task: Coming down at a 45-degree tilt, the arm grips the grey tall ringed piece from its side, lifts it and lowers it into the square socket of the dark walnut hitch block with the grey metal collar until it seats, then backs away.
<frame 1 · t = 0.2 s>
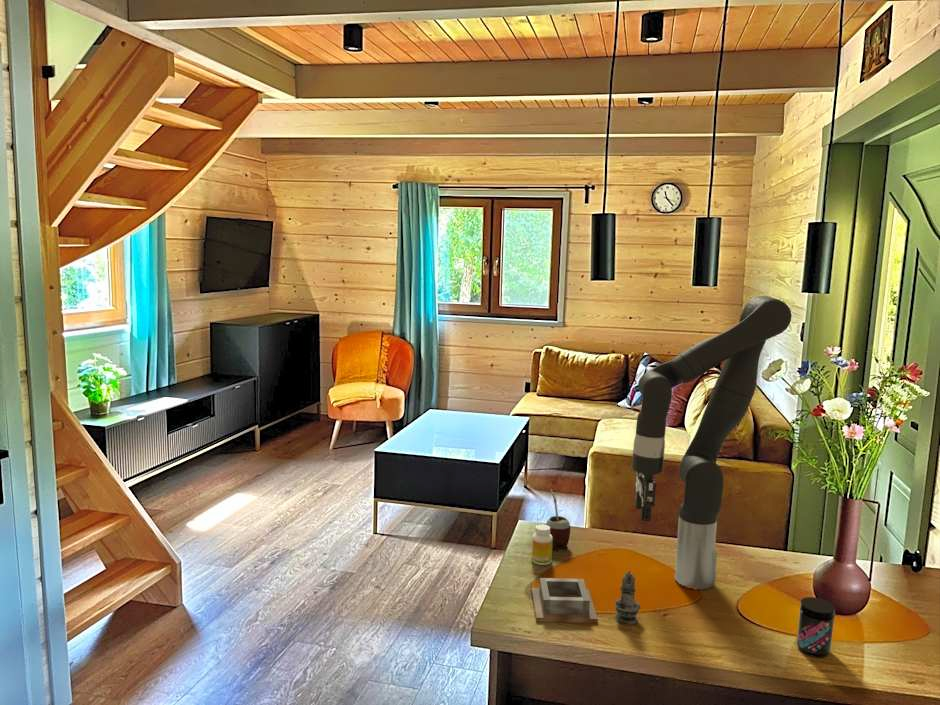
hand: (642, 514, 182), 18 cm above the table, tool pointing down, fingers open, 8 cm apart
hitch block: (563, 606, 172), on the table
supplement container: (813, 650, 156), on the table
grey tall ringed piece: (626, 619, 167), on the table
supplement bottle: (541, 561, 196), on the table
mate gourd: (556, 546, 206), on the table
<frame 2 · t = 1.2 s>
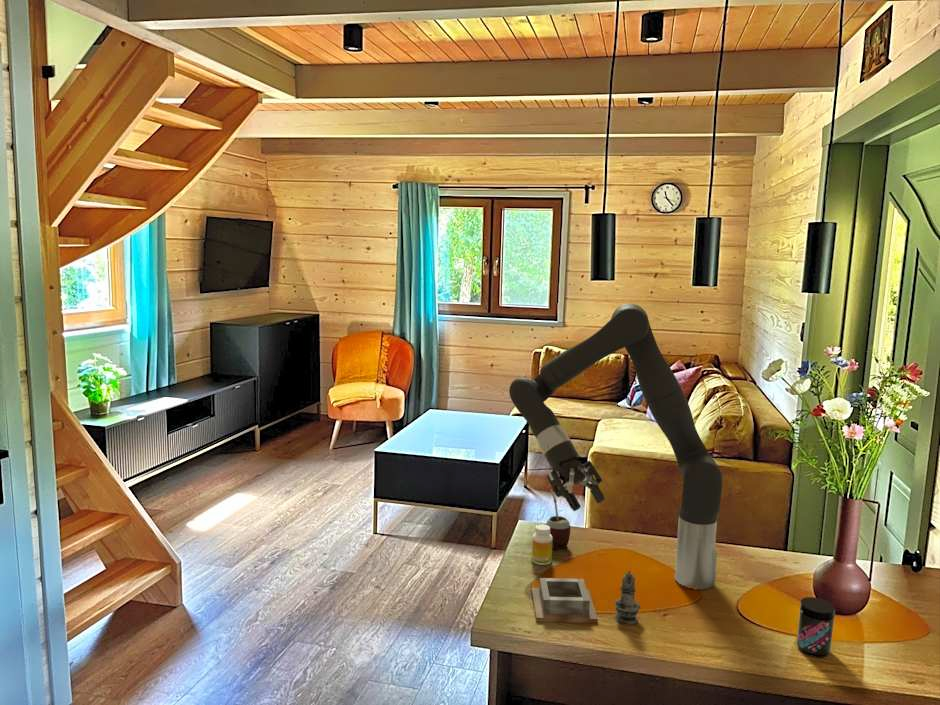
hand: (589, 505, 173), 24 cm above the table, tool tilted 45°, fingers open, 8 cm apart
nothing on the table moved.
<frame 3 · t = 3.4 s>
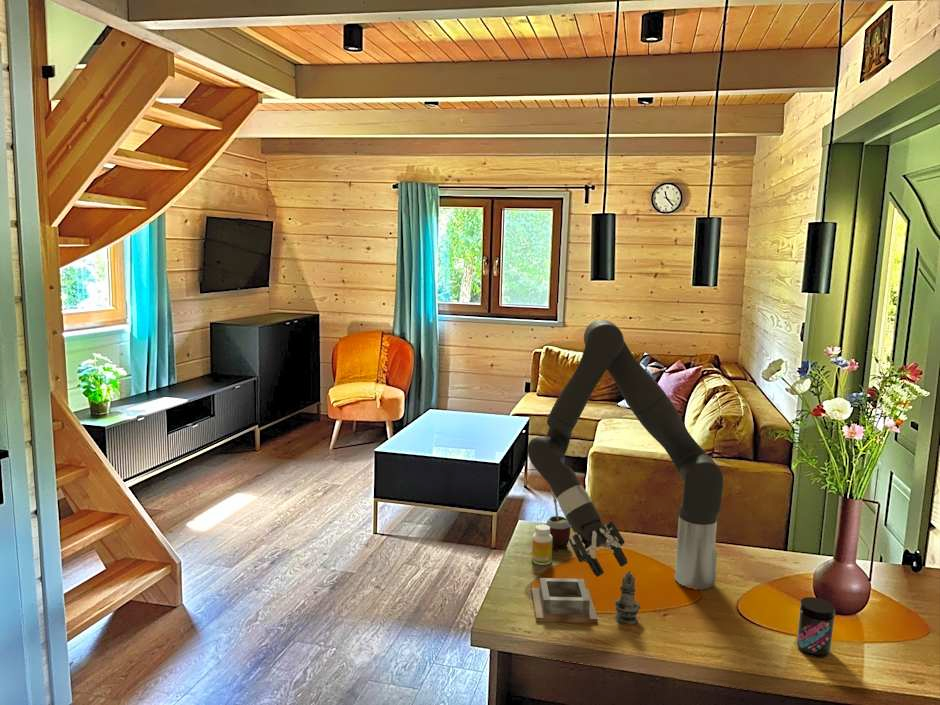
hand: (612, 570, 169), 10 cm above the table, tool tilted 45°, fingers open, 8 cm apart
nothing on the table moved.
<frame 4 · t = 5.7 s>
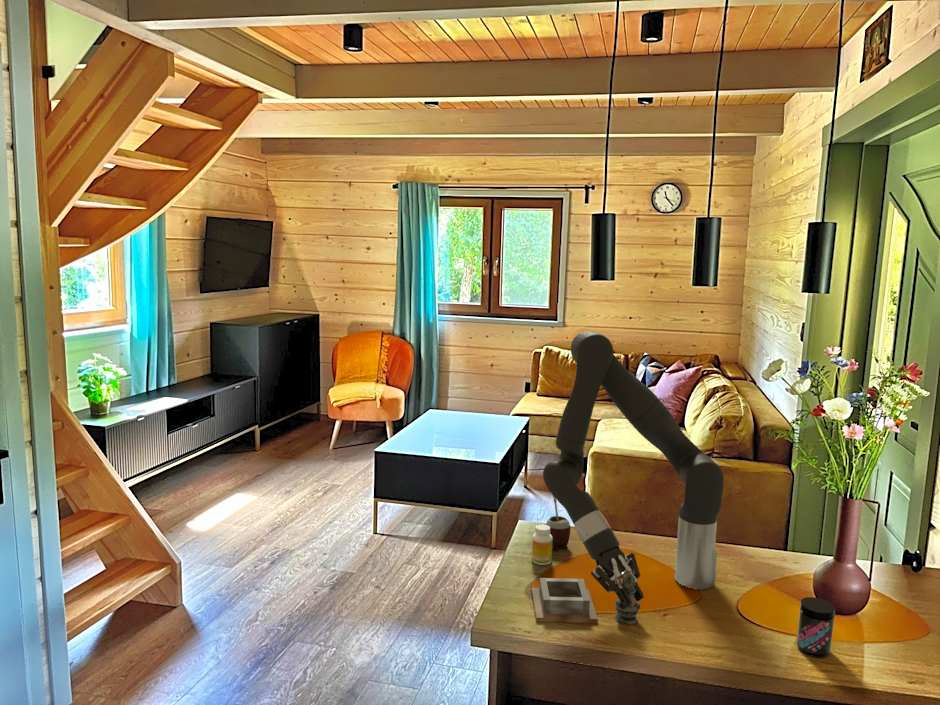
hand: (634, 602, 165), 5 cm above the table, tool tilted 45°, fingers closed on grey tall ringed piece, 3 cm apart
grey tall ringed piece: (626, 619, 167), on the table, touching gripper
everything else where it was.
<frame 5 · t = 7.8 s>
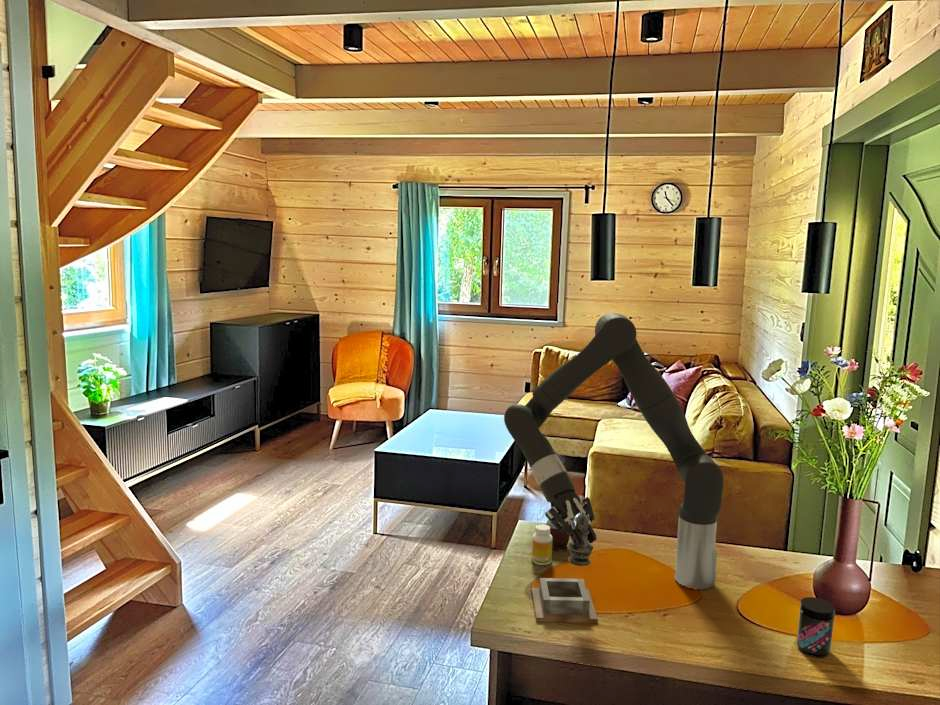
hand: (587, 543, 167), 17 cm above the table, tool tilted 45°, fingers closed on grey tall ringed piece, 3 cm apart
grey tall ringed piece: (579, 561, 169), point 12 cm above the table, touching gripper
everything else where it was.
when the fingers open (7 cm above the table, at t = 10.2 s): grey tall ringed piece drops 1 cm, resting on hitch block.
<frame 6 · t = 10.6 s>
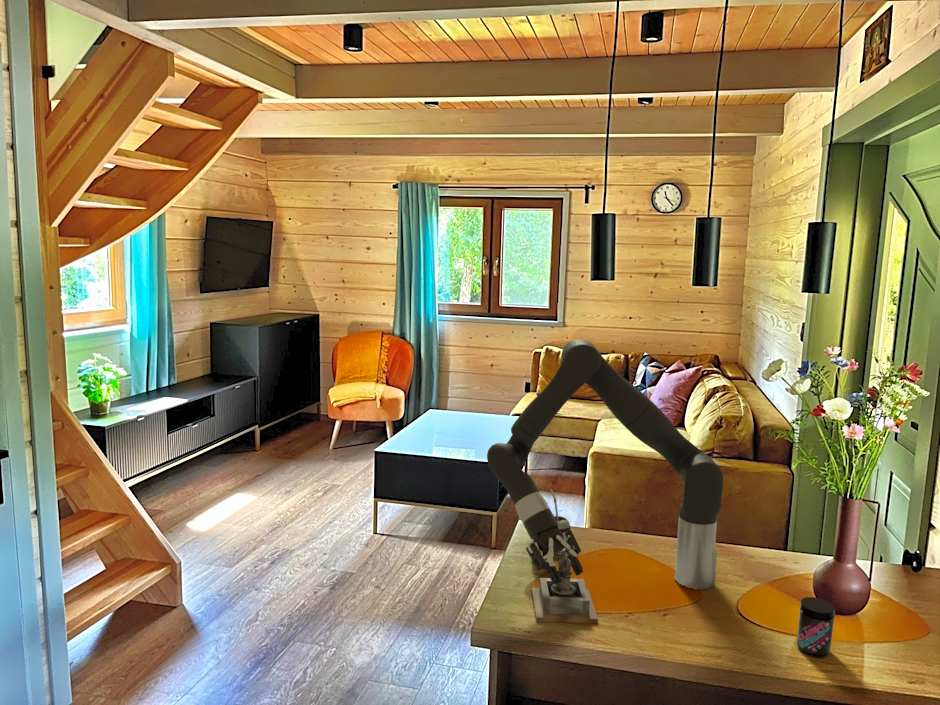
hand: (569, 578, 170), 8 cm above the table, tool tilted 45°, fingers open, 6 cm apart
grey tall ringed piece: (562, 603, 172), point 1 cm above the table, touching hitch block
everything else where it was.
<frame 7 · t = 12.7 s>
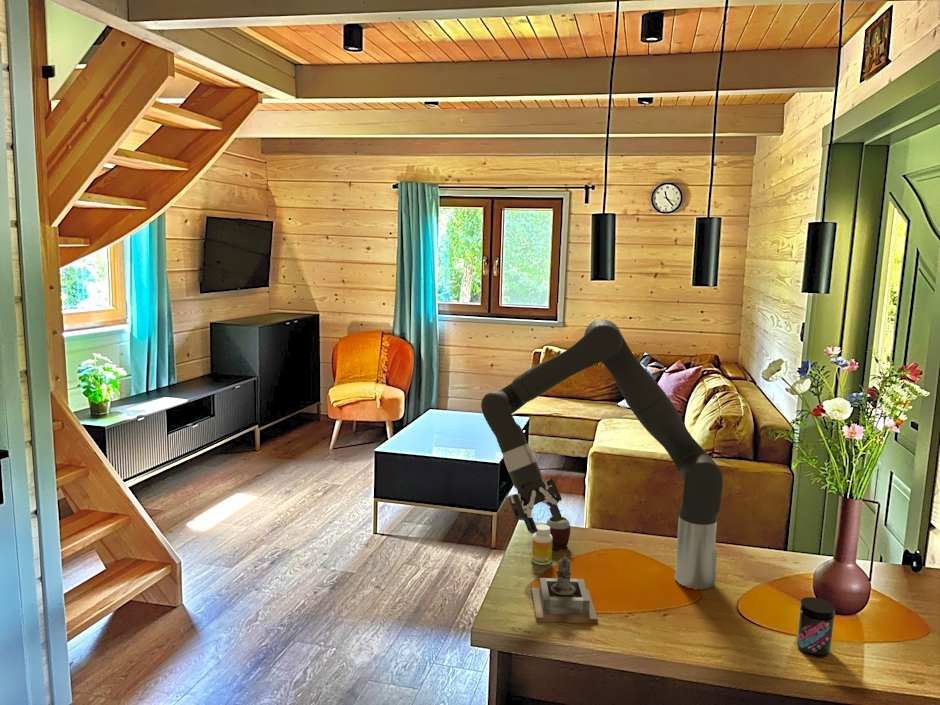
hand: (546, 526, 180), 15 cm above the table, tool tilted 30°, fingers open, 8 cm apart
nothing on the table moved.
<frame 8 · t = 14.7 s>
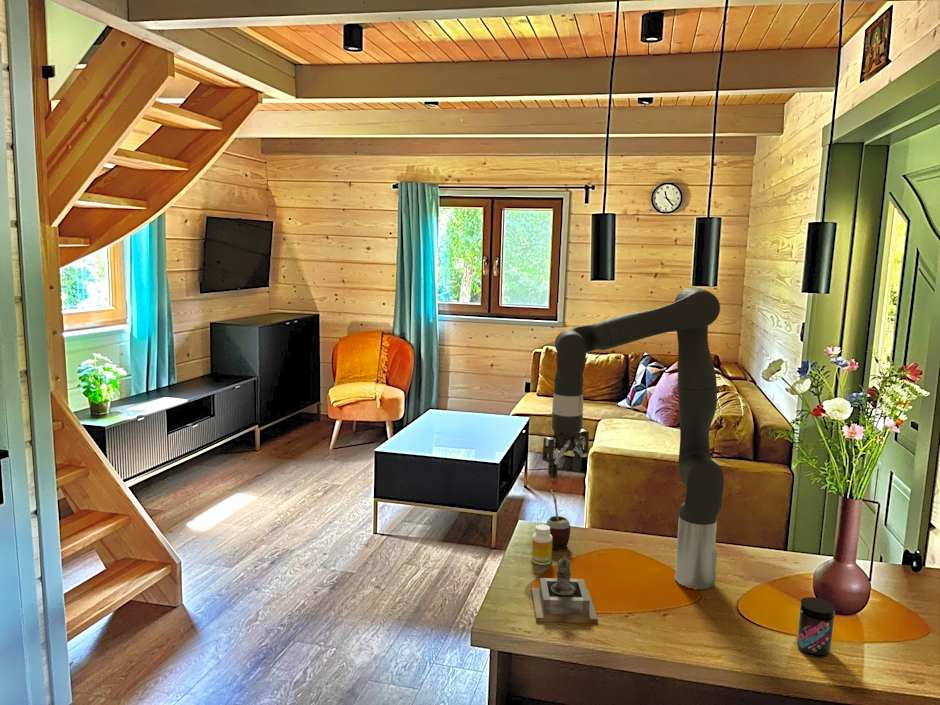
hand: (565, 474, 181), 28 cm above the table, tool pointing down, fingers open, 8 cm apart
nothing on the table moved.
at the end: grey tall ringed piece 0.2 cm off-centre on the hitch block, point 0.8 cm above the hitch block's base; grey tall ringed piece tilted 0°; the gripper is holding nothing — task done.
